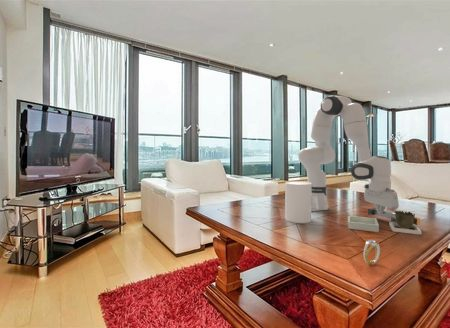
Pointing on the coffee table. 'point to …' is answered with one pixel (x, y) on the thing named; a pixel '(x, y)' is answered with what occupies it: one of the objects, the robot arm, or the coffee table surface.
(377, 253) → the ring
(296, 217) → the canister
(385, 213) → the crank
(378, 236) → the coffee table surface
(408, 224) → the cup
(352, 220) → the tray
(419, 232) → the tray
